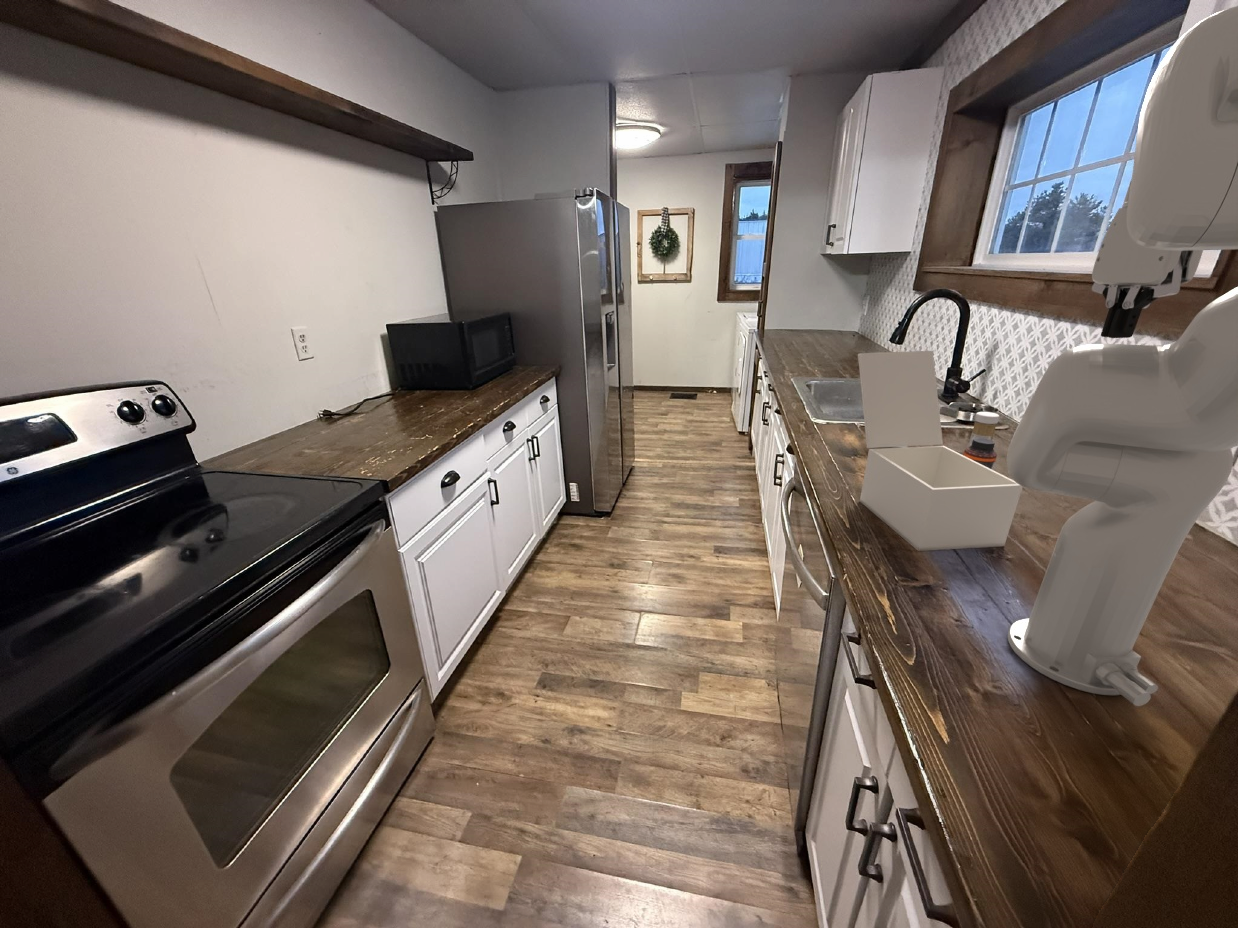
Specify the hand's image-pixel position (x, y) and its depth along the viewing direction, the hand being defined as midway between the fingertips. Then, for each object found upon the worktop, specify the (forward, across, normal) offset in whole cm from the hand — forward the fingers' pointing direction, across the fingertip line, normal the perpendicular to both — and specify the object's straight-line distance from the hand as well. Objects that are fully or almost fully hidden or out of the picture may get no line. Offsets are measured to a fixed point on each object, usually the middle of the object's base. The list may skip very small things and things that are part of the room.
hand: (1115, 336), depth 71 cm
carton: (+37, +14, +11) cm, 41 cm away
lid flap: (+16, +29, +11) cm, 35 cm away
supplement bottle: (+37, +28, -9) cm, 48 cm away
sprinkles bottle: (+37, +40, -19) cm, 58 cm away
